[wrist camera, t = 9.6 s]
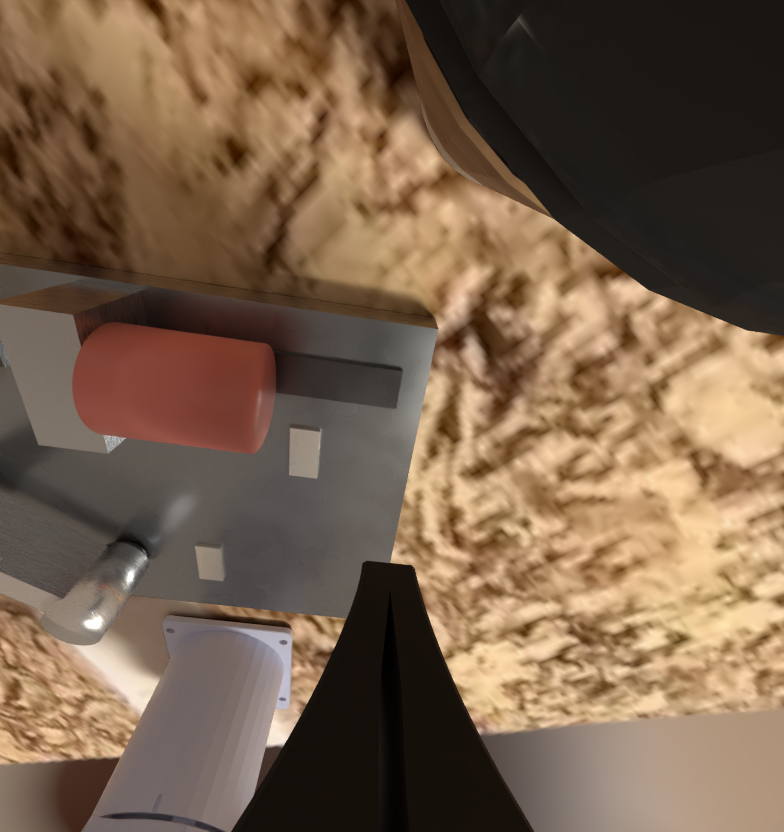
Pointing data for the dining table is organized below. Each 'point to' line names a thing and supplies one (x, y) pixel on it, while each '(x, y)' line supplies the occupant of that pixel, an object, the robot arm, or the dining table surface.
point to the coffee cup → (624, 131)
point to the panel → (208, 468)
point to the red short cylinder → (175, 387)
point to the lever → (65, 573)
